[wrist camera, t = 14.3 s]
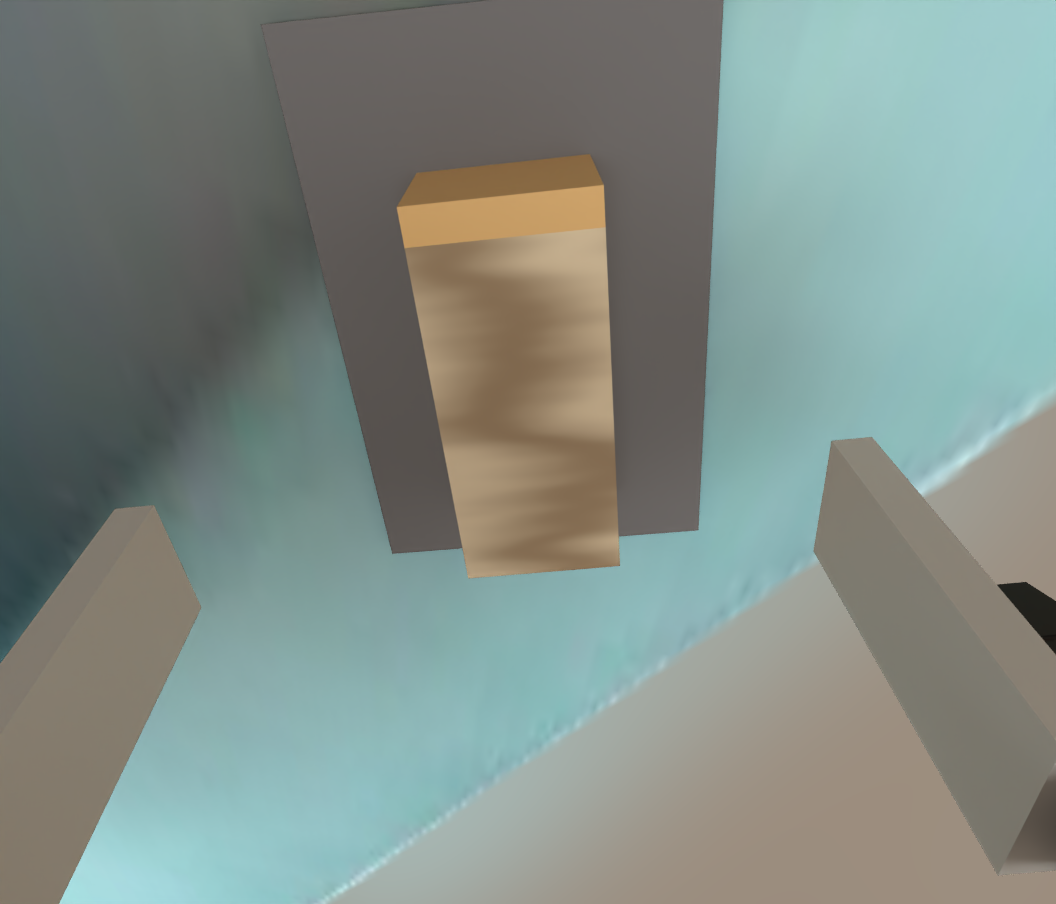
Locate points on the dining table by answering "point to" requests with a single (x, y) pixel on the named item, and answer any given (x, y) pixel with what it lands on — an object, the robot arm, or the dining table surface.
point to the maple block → (519, 358)
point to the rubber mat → (505, 137)
